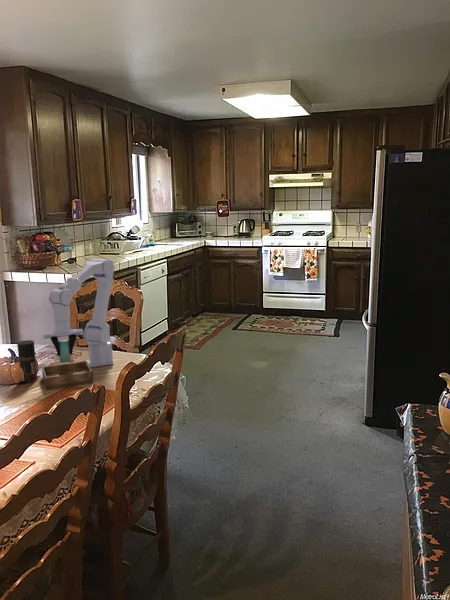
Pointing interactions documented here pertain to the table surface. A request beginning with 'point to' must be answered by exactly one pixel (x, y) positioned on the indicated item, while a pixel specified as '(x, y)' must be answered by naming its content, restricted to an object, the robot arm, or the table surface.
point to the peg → (64, 351)
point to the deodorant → (27, 360)
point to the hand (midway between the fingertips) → (64, 354)
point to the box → (67, 375)
